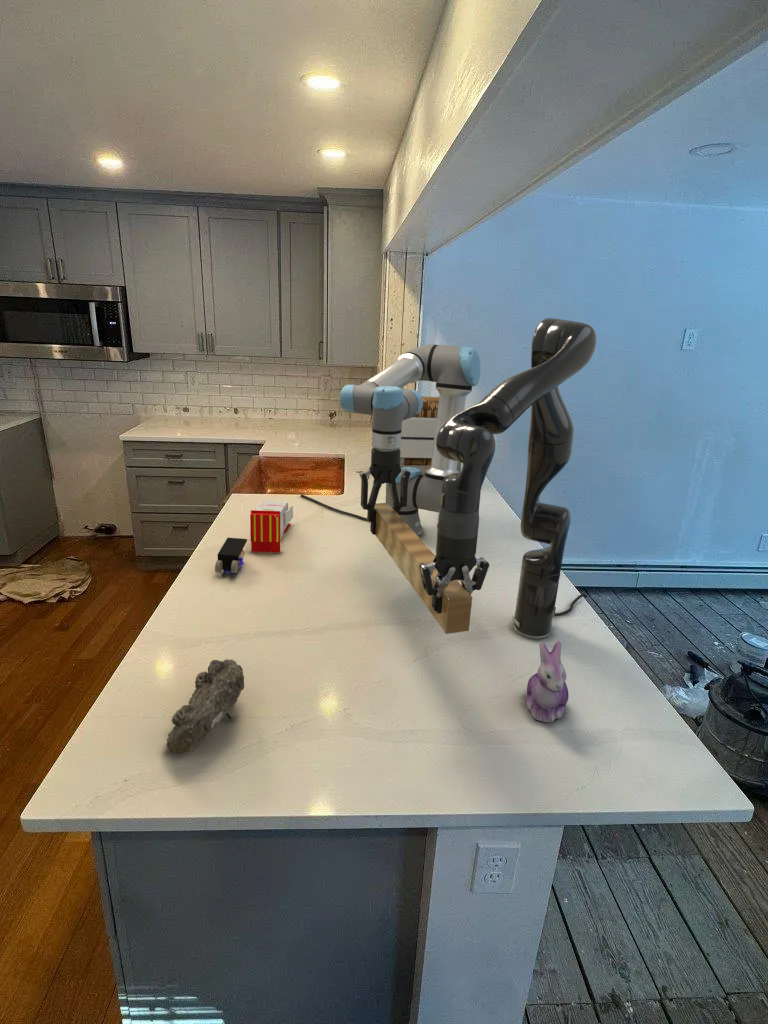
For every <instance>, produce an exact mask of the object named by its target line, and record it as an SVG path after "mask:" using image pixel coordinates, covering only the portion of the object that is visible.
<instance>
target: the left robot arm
mask: <svg viewBox="0 0 768 1024" xmlns="http://www.w3.org/2000/svg"><path fill="white" fill-rule="evenodd" d="M480 378H481V360H480V356H479V352H478V351H477V350H476V349H475V348H474V347H470V346H463V345H446V344H445V345H444V344H443V345H442V344H432V343H431V344H425V345H421V346H418V347H415V348H412V349H410V350H408V351H405V352H404V353H402V354H401V355H399V356H398V357H397V359H396V361H395V362H394V363H393V364H391V365H389V366H388V367H386V368H384V369H383V370H381V371H380V372H378V373H376V374H375V375H374V376H372V377H370V378H369V379H367V380H366V381H364V382H362V383H361V384H359V385H357V384H355V383H353V384H346V385H344V386H343V388H342V389H341V391H340V395H339V403H340V407H341V409H342V410H343V411H345V412H347V413H353V414H358V415H359V414H360V415H367V416H372V428H371V447H372V448H371V453H370V454H371V456H370V466H369V468H368V469H367V470H365V471H364V470H361V471H359V477H360V480H361V482H360V507H361V508H362V509H363V510H366V511H367V513H366V515H367V516H366V517H364V516H361V515H358V514H355V513H351V512H348V511H344V510H341V509H338V508H335V507H333V506H330V505H328V504H326V503H323V502H320V501H319V500H317V499H314V498H313V497H309V496H307V495H304V494H300V497H301V498H303V499H306V500H309V501H311V502H313V503H316V504H318V505H319V506H321V507H324V508H326V509H329V510H330V511H331V510H332V511H334V512H336V513H339V514H343V515H346V516H350V517H354V518H356V519H360V520H361V521H366V522H368V523H370V527H369V528H370V530H369V532H371V534H372V535H373V536H375V534H376V510H375V509H374V507H375V504H376V503H377V501H378V496H379V493H380V489H381V488H382V485H384V484H385V503H389V504H390V506H391V507H392V508H393V509H394V510H395V511H396V512H397V513H398V515H399V516H400V517H401V518H402V519H403V520H404V521H405V522H406V523H407V525H408V526H409V527H410V528H411V529H412V530H413V531H414V532H415V534H416V535H417V536H418V537H419V538H420V537H421V536H422V535H423V525H422V523H421V518H420V515H419V510H423V511H428V512H434V513H437V514H439V512H440V506H441V494H442V484H443V480H444V478H445V477H446V476H447V475H449V474H452V473H459V472H458V471H457V461H454V460H450V459H447V458H445V457H443V456H442V455H441V454H440V453H439V452H438V450H437V447H436V438H437V435H438V432H439V430H440V429H441V427H442V426H443V425H444V424H445V423H446V422H447V421H448V420H449V419H450V418H452V417H454V416H455V415H457V414H459V413H460V412H462V411H464V410H466V409H465V407H466V400H467V396H468V395H469V394H470V393H472V391H473V387H476V386H478V385H479V382H480ZM418 381H419V382H421V381H423V382H432V383H435V389H436V390H437V392H438V395H439V396H438V397H439V403H438V411H437V420H436V428H435V436H434V445H433V453H432V461H431V465H430V466H429V468H427V469H426V470H425V474H422V470H421V468H419V467H415V466H411V467H410V466H406V467H405V466H404V468H401V467H400V453H401V451H400V449H399V448H400V447H401V431H402V421H403V420H406V419H410V418H412V417H414V416H415V415H417V414H418V413H419V412H420V411H421V409H422V407H423V400H422V397H423V396H422V395H421V394H420V393H419V391H417V390H416V389H413V388H405V387H406V386H407V385H409V384H414V383H417V382H418ZM402 388H403V389H404V388H405V389H404V390H402ZM370 476H372V478H373V481H372V487H371V491H370V494H369V479H370Z"/></svg>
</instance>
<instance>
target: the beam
mask: <svg viewBox="0 0 768 1024" xmlns="http://www.w3.org/2000/svg"><path fill="white" fill-rule="evenodd" d="M374 509H375V510H376V534H374V536H375V537H376V538H377V540H378V541H379V542H380V544H381V546H382V547H383V549H384V550H385V551H386V552H387V554H388V555H389V556H390V558H391V559H392V561H393V562H394V564H395V565H396V566H397V568H398V570H399V571H400V572H401V573H402V575H403V576H404V577H405V579H406V580H407V582H408V583H409V585H410V586H411V587H412V589H413V590H414V592H415V593H416V594H417V596H418V597H419V599H420V600H421V601H422V603H423V604H424V605H425V606H426V608H427V609H428V611H429V612H430V614H431V615H432V617H433V618H434V619H435V621H436V622H437V623H438V625H439V627H440V628H441V629H442V631H443V632H444V633H445V634H446V635H449V634H456V633H464V632H469V631H470V624H471V623H470V622H471V615H472V604H473V596H472V594H471V595H470V594H469V593H468V592H467V591H466V590H465V589H464V587H463V586H462V584H461V582H459V580H453V581H450V582H449V584H448V586H447V588H445V590H444V592H443V594H442V597H443V599H442V611H441V613H439V614H437V613H436V611H435V610H434V609H433V608H432V595H431V596H430V595H428V594H427V592H426V591H425V590H424V588H423V583H422V578H421V573H420V568H419V565H420V564H421V563H424V564H425V565H426V564H429V563H432V562H433V560H434V558H435V556H436V554H434V553H433V552H432V550H431V549H430V548H429V547H428V546H427V545H426V543H424V541H423V540H422V539H421V538H420V537H418V536H417V535H416V534H415V532H414V531H413V530H412V529H411V528H410V527H409V526H408V525H407V523H406V522H405V521H404V520H403V519H402V518H401V517H400V516H399V515H398V513H397V512H396V511H395V510H394V509H393V508H392V507H391V506H390V504H389V503H386V502H379V503H378V502H376V504H375V507H374ZM437 572H438V571H437V570H436V568H435V569H434V570H433V575H432V576H431V580H432V585H434V583H435V577H436V575H437Z"/></svg>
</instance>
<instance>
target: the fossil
mask: <svg viewBox="0 0 768 1024" xmlns="http://www.w3.org/2000/svg"><path fill="white" fill-rule="evenodd" d="M243 670H244V669H243V667H242V665H240V664H237V662H236V661H235V660H234V659H232V658H231V659H227V658H226V659H224V660H223V661H222V660H217V659H212V660H211V661H210V663H209V665H208V666H207V671H201V672H199V673H198V674H197V675H196V676H195V680H194V684H195V685H194V687H195V689H194V690H193V693H192V694H191V697H190V698H189V700H188V704H184V705H182V706H181V707H180V709H177V710H176V711H175V713H174V715H173V716H172V718H171V723H172V724H173V727H172V730H171V731H170V732H168V734H167V738H166V741H167V742H166V745H167V749H168V750H169V751H173V752H174V753H176V754H178V753H182V752H188V751H189V752H192V751H193V750H195V748H196V747H197V746H199V744H200V743H201V742H203V741H204V740H205V739H206V738H207V737H208V736H209V735H210V734H211V733H212V732H214V730H215V729H217V727H218V726H219V724H220V722H221V721H222V720H223V719H224V718H225V716H226V717H227V719H229V720H233V717H232V715H230V714H229V710H230V709H231V708H234V706H235V704H236V703H237V702H238V699H239V697H240V695H241V693H242V691H243V690H245V689H244V688H245V675H244V671H243Z"/></svg>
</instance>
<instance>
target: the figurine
mask: <svg viewBox="0 0 768 1024" xmlns="http://www.w3.org/2000/svg"><path fill="white" fill-rule="evenodd" d="M562 647H563V644H562V641H561V640H557V641H556V642H554V645H553V647H552V649H551V651H550V650H549V648H548V647H547V645H546V644H545V642H543V641H540V642H539V657H540V665H538V668H537V672H536V673H534V674H533V675H531V676H530V677H529V679H528V682H527V685H526V694H525V705H526V709H527V710H528V711H529V712H530V713H531V715H532V718H533V719H534V720H537V721H540V722H544V723H553V722H554V721H555V720H559V719H562V717H563V715H564V713H565V710H566V706H567V703H568V701H569V697H570V696H569V689H568V686H567V683H566V680H567V671H566V669H565V666H564V664H563V661H562V659H561V657H562Z"/></svg>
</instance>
